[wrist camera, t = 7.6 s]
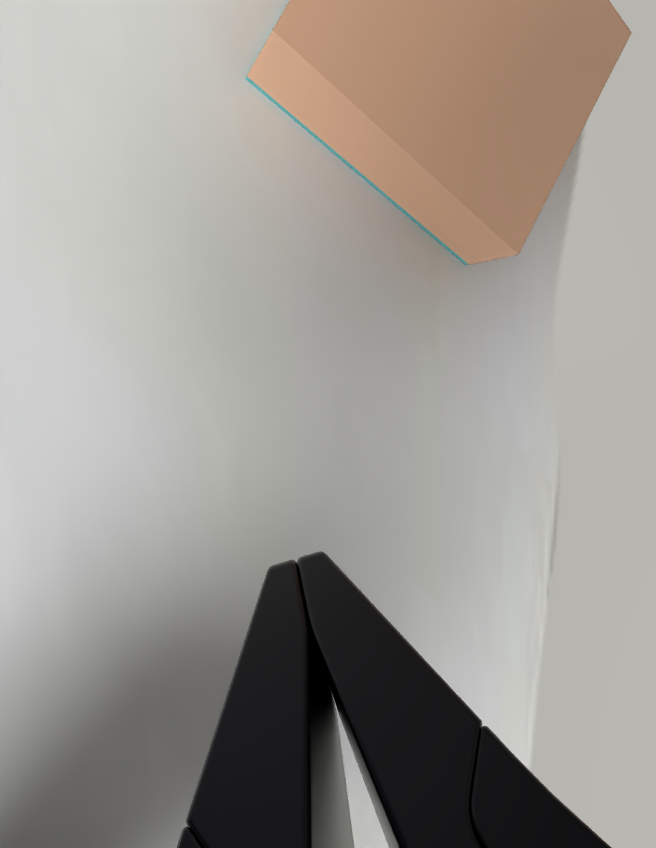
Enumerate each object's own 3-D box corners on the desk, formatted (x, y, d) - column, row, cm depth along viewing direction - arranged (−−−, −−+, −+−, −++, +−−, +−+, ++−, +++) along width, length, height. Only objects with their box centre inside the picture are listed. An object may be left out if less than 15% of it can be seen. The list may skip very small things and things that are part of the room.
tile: (518, 254, 18) (631, 32, 18) (272, 30, 13) (430, -252, 14) (462, 265, 20) (562, 72, 21) (243, 82, 16) (375, -156, 17)
